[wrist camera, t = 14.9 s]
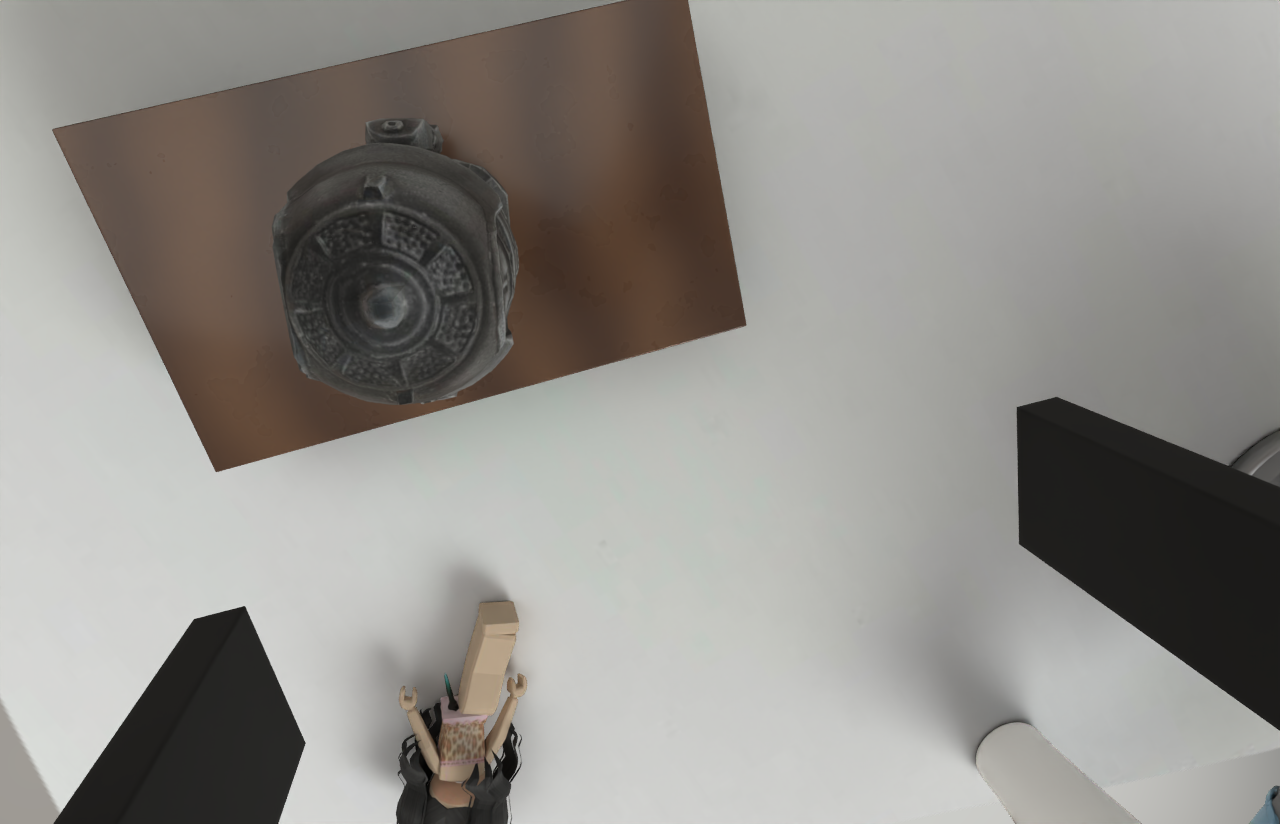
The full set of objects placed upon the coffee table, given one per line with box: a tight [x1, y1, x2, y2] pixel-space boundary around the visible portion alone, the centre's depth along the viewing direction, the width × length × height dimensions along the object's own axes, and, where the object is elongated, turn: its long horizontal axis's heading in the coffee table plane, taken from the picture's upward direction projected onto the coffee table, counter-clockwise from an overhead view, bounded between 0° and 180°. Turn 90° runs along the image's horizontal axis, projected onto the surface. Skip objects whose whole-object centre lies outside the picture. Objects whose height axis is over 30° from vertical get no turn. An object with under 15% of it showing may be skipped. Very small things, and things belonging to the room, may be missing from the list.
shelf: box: [52, 0, 746, 472], centre depth 33 cm, size 24×14×6 cm, turn 103°
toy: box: [272, 118, 519, 405], centre depth 23 cm, size 8×6×15 cm
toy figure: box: [396, 601, 527, 824], centre depth 42 cm, size 7×6×15 cm
